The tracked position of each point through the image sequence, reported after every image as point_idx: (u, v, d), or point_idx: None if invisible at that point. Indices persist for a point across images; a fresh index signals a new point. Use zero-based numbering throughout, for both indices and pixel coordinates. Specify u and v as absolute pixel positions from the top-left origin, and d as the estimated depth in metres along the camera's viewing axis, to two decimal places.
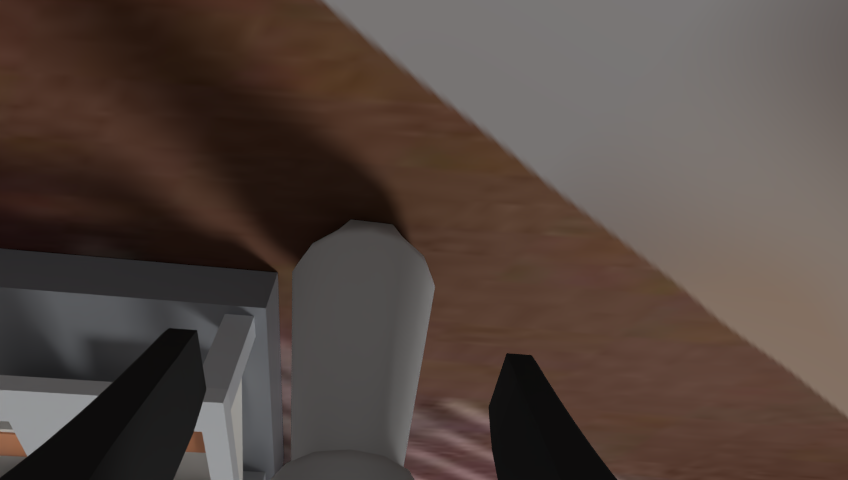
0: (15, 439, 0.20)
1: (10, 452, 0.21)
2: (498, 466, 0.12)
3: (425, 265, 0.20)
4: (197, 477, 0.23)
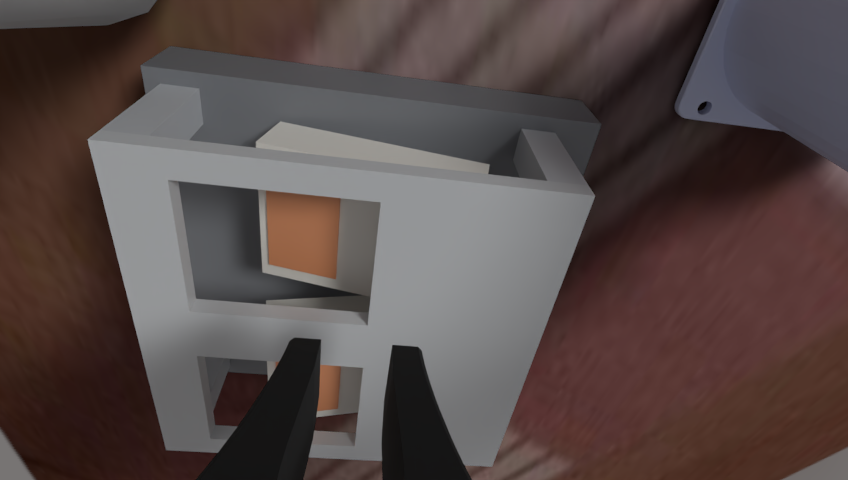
0: None
1: (329, 373, 0.19)
2: (383, 461, 0.11)
3: None
4: None
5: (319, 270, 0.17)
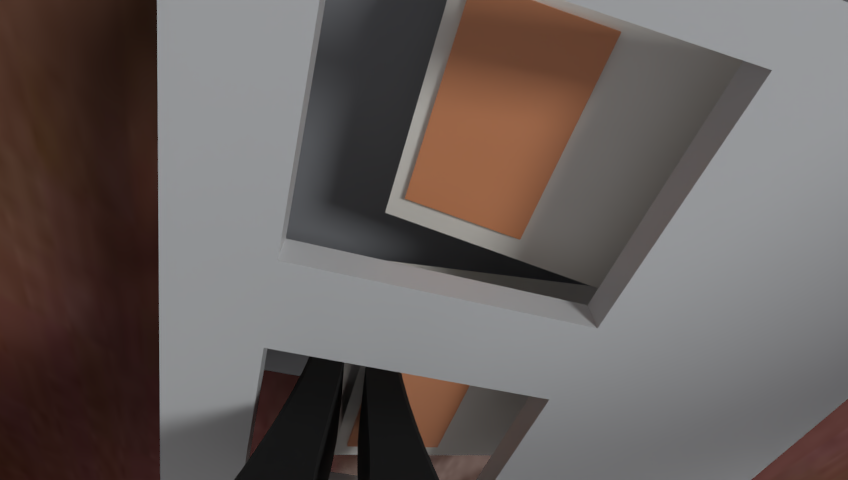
0: None
1: (448, 393, 0.12)
2: None
3: None
4: (680, 127, 0.08)
5: (493, 221, 0.10)
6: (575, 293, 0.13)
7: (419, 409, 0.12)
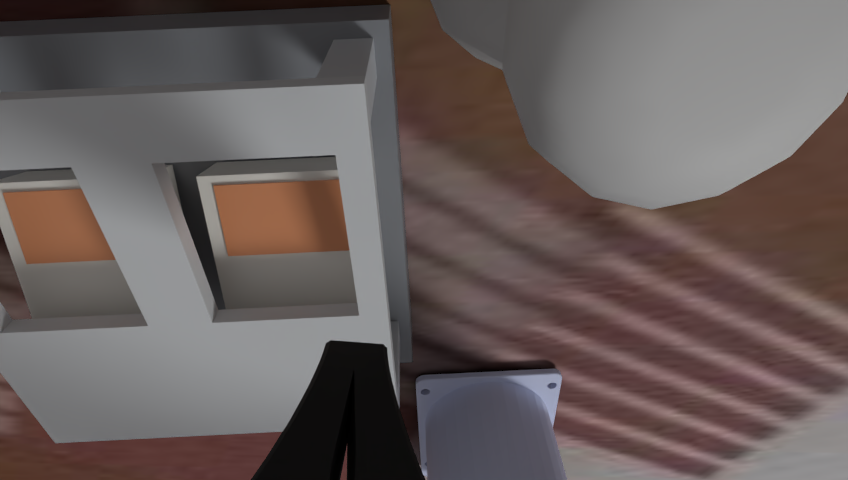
0: None
1: (91, 248, 0.16)
2: (347, 459, 0.11)
3: None
4: (324, 293, 0.17)
5: (230, 237, 0.16)
6: None
7: (67, 233, 0.16)
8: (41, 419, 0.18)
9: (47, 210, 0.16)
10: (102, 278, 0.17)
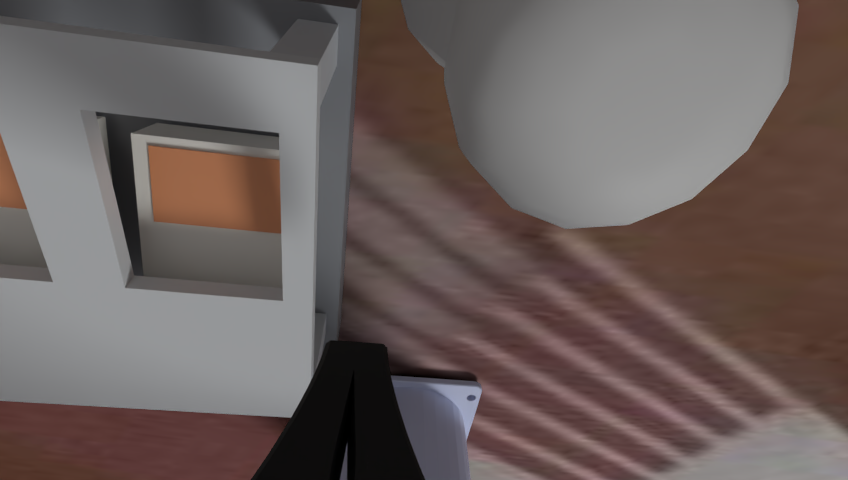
0: None
1: (1, 193, 0.15)
2: (347, 459, 0.11)
3: None
4: (251, 274, 0.17)
5: (158, 202, 0.16)
6: None
7: None
8: None
9: None
10: (10, 226, 0.16)
